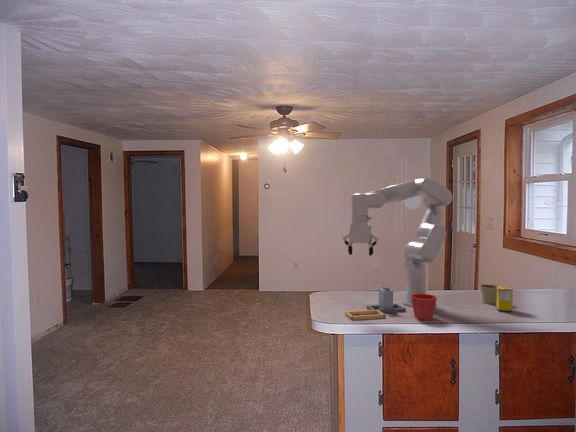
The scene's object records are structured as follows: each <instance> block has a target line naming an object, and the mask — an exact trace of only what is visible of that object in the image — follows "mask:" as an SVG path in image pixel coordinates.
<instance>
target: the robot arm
mask: <svg viewBox="0 0 576 432" xmlns="http://www.w3.org/2000/svg"><path fill="white" fill-rule="evenodd" d="M418 196H422V201H423V204H424V207H425V213H424V216H423V218H422V220H421V221H420V224H419V226H418V228H417V230H416V233H415V235H416V239H418V240H419V241H417V240H416V241H414V240H413V241H410V242H408V243H407V244H406V245H405V247H404V259H405V299H402V303H403V304H404V305H406V306H409V307H410V306H411V307H413V305H412V299H411V295H413V294H426V287H427V285H426V283H427V281H426V278H427V277H426V274H427V268H426V264H430V263H432V262H434V261H435V260H436V259H437V257H438V255H439V253H440V251H441V249H442V247H443V246H444V244H445V242H446V238H447V230H446V228H445V226H443V225H442V224H440V223H441V222H442V220H443V211H442V209H441V207H446V206H448V205H450V204H452V201H453V193H452V192H451V191H450V189H448V188H447V187H445V186H444V185H442V184H441V183H439V182H438V181H436V180H434V179H432V178H430V177H421V178H414V179H410V180H408V181H403V182H401V183H397V184H394V185H390V186H387V187H383V188H382V187H381V188H379V189H376V190H372V191H368V192H366V193H353V194H352V196H351V222H350V227H349V234H347V235H345V236H343V237H342V240H343V241H344V244H346V246H347V248H348V249H347V251H348V255H349V256H352V255H353V244H367V245H368V246H369V247H368V255H369V256H373V254H374V246H376V245H377V244H378V241H379V240H380V239H379V237H377V235H375V234H372V226H371V221H370V220H372V216H369V209H381V208H382V207H383V206H384V205H385V204H387V203H398V202H402V201H405V200H408V199H411V198H415V197H418ZM348 238H349V240H347V239H348ZM373 239H374V241H373ZM372 241H373V242H372ZM425 263H426V264H425Z"/></svg>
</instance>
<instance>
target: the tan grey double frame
mask: <svg viewBox="0 0 576 432" xmlns="http://www.w3.org/2000/svg"><path fill="white" fill-rule="evenodd" d="M395 307H396V308H395ZM375 308H378V309H375ZM406 310H407V309H406V307H405V306H403V305H400V304H399V303H393V308H392V309H379V304H369V305H367V304H366V309H362V310H350V311H348V310H347V311H346V310H345V311H344V316H345V317H347V318H348V319H349V320H351V321H355V320H356V321H357V320H358V321H359V320H360V319H361V320H372V319H373V320H375V319H376V318H377V319H386V314H387V313H386V312H388V313H401V312H404V313H405V312H406ZM374 313H377V314H374ZM355 314H360V315H355Z"/></svg>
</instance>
